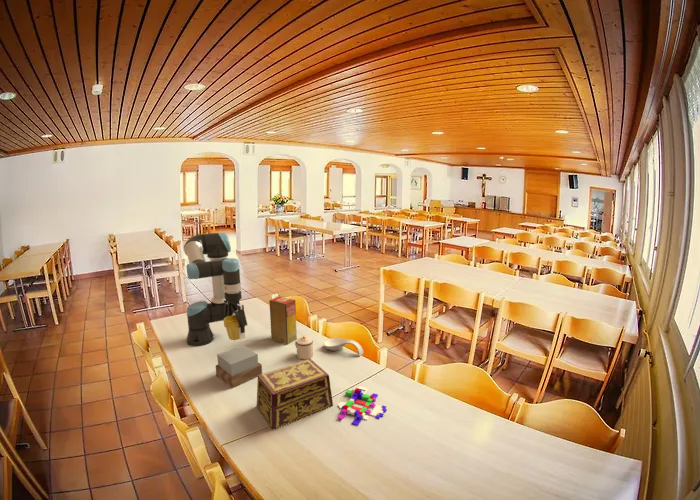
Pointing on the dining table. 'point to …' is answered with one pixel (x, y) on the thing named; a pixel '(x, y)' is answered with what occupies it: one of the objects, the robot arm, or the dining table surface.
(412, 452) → the dining table surface
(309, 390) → the decorative box
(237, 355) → the grey top block
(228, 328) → the plant pot
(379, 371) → the dining table surface
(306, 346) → the teacup with lid
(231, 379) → the walnut base block
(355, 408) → the building block set
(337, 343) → the spoon rest
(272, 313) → the food packaging
